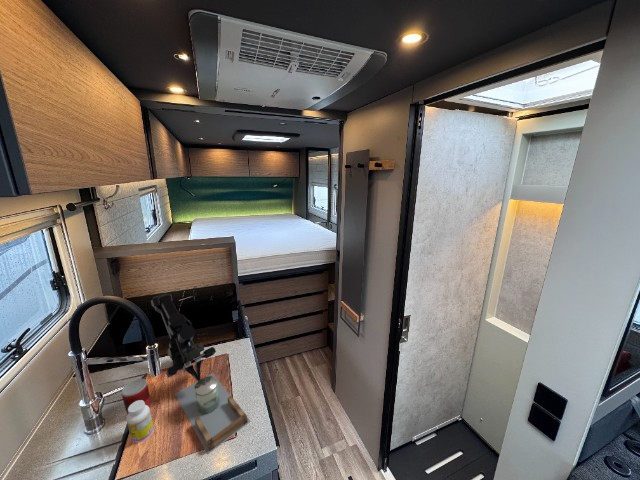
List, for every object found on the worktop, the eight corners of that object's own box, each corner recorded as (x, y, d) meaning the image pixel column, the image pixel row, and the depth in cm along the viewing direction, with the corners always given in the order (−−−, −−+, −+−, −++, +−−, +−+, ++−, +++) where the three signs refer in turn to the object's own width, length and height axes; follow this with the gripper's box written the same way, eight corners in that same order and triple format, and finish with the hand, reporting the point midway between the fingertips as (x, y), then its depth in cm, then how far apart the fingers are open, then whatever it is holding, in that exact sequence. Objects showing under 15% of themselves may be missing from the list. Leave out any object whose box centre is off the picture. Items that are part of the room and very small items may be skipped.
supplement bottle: (129, 434, 89) (122, 406, 86) (151, 421, 94) (144, 394, 91) (134, 448, 85) (126, 418, 82) (156, 433, 90) (150, 405, 86)
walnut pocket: (195, 425, 92) (194, 419, 91) (231, 401, 102) (230, 395, 101) (209, 451, 84) (208, 444, 83) (247, 422, 93) (247, 415, 92)
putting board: (174, 395, 105) (174, 394, 105) (212, 373, 116) (212, 373, 116) (207, 455, 83) (207, 454, 82) (250, 422, 94) (250, 421, 94)
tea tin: (193, 414, 96) (190, 393, 94) (203, 396, 104) (200, 376, 102) (215, 414, 96) (212, 393, 94) (223, 395, 104) (220, 376, 102)
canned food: (156, 401, 103) (151, 378, 100) (140, 419, 95) (135, 396, 92) (138, 399, 103) (133, 377, 100) (122, 417, 96) (115, 394, 93)
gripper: (163, 351, 97) (177, 391, 92) (211, 330, 110) (225, 364, 105) (161, 358, 104) (173, 396, 100) (206, 338, 117) (219, 370, 113)
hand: (199, 381), depth 104 cm, fingers closed
